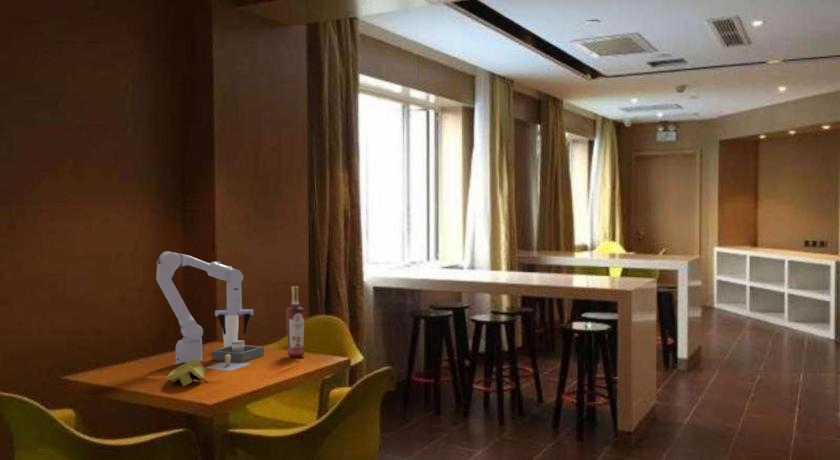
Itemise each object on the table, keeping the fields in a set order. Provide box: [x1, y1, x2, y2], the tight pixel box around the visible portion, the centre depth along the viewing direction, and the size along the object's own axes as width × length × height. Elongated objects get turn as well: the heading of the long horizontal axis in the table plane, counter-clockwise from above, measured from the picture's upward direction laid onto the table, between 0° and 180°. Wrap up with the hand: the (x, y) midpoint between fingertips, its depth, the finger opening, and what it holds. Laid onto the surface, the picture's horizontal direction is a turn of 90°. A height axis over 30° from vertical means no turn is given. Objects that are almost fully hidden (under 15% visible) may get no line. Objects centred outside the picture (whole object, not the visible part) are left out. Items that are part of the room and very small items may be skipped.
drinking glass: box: [221, 313, 240, 348], centre depth 298 cm, size 7×7×15 cm
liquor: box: [285, 286, 306, 359], centre depth 282 cm, size 7×7×28 cm
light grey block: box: [232, 339, 245, 353], centre depth 277 cm, size 5×5×7 cm
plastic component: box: [167, 359, 207, 387], centre depth 244 cm, size 20×7×10 cm
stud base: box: [205, 354, 251, 372], centre depth 262 cm, size 12×12×6 cm
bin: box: [211, 344, 265, 363], centre depth 278 cm, size 14×14×4 cm
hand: (234, 333), depth 281 cm, fingers open, 7 cm apart
